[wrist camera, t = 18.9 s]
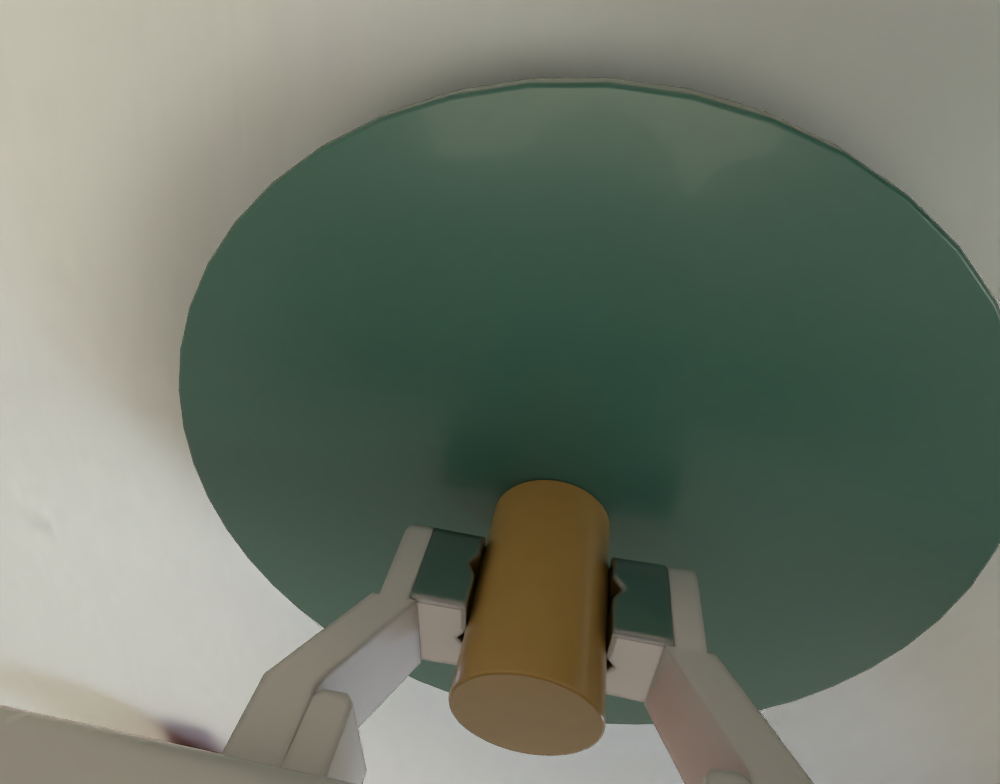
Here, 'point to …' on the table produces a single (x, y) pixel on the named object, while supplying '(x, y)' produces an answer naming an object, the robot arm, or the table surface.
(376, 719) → the table surface
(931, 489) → the tin lid
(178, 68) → the table surface
